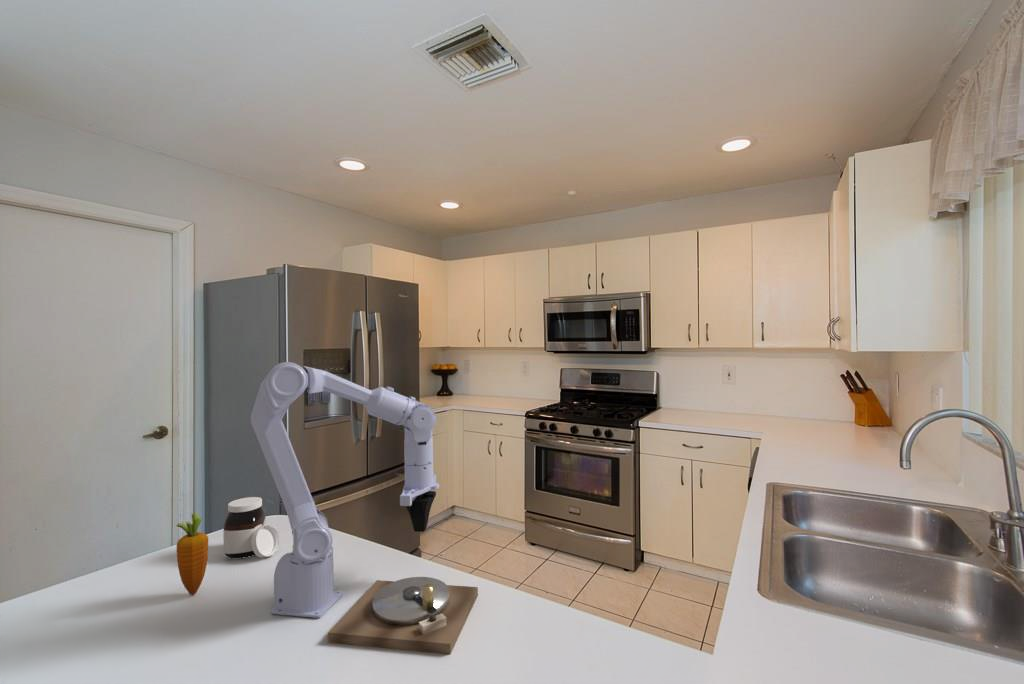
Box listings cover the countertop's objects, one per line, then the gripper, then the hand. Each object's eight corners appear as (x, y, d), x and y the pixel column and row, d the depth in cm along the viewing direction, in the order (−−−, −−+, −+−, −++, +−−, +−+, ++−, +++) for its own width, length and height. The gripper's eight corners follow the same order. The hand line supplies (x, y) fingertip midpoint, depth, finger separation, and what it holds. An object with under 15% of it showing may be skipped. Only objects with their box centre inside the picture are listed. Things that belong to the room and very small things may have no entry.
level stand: (328, 642, 72) (327, 620, 72) (376, 588, 88) (376, 570, 88) (450, 654, 68) (450, 631, 68) (477, 595, 84) (477, 576, 85)
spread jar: (234, 545, 110) (234, 496, 110) (286, 539, 112) (285, 492, 112) (215, 568, 98) (214, 513, 98) (273, 561, 101) (272, 508, 101)
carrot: (192, 603, 84) (191, 521, 84) (170, 600, 85) (169, 519, 85) (215, 589, 89) (214, 511, 89) (193, 587, 90) (193, 510, 90)
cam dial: (360, 601, 80) (359, 574, 80) (425, 576, 89) (424, 551, 89) (397, 637, 70) (396, 606, 70) (466, 604, 78) (466, 576, 78)
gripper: (424, 472, 84) (426, 546, 84) (449, 454, 99) (450, 517, 98) (388, 471, 85) (390, 544, 85) (418, 453, 100) (419, 516, 100)
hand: (420, 530), depth 92 cm, fingers closed
